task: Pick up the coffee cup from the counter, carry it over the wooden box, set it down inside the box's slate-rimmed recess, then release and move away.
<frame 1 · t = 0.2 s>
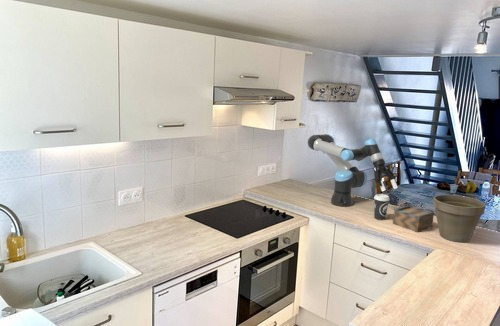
hand: (390, 189, 239), 16 cm above the countertop, tool tilted 35°, fingers open, 13 cm apart
wooden box: (412, 225, 218), on the countertop
plant pot: (453, 237, 202), on the countertop
coffee cup: (379, 218, 229), on the countertop
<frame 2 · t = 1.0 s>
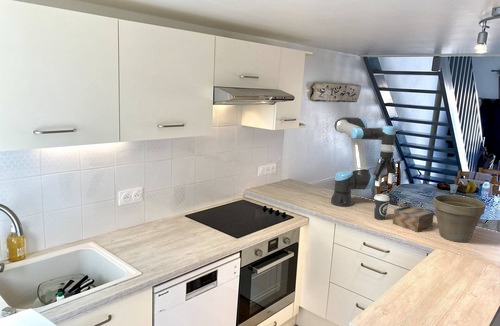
hand: (383, 184, 225), 22 cm above the countertop, tool pointing down, fingers open, 13 cm apart
nothing on the countertop moved.
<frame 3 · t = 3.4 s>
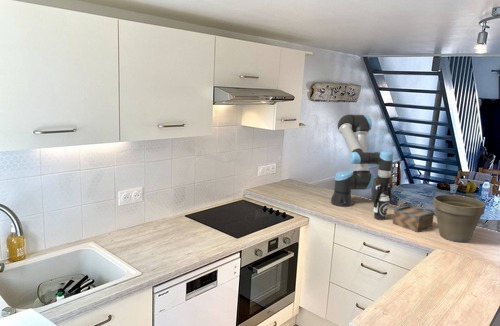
hand: (380, 210, 228), 5 cm above the countertop, tool pointing down, fingers closed on coffee cup, 9 cm apart
coffee cup: (379, 218, 229), on the countertop, touching gripper
everything else where it was.
when the fingers open (15 cm above the countertop, at t = 10.1 s): coffee cup drops 2 cm, resting on wooden box.
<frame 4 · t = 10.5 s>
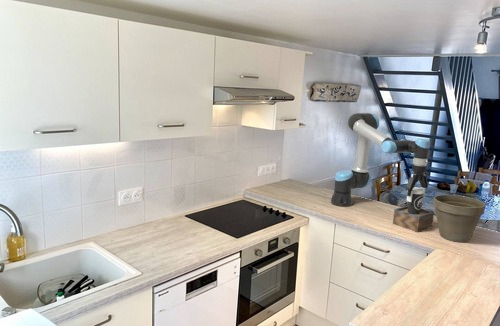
hand: (415, 199, 215), 16 cm above the countertop, tool pointing down, fingers open, 13 cm apart
coffee cup: (413, 212, 217), point 8 cm above the countertop, touching wooden box
everything else where it was.
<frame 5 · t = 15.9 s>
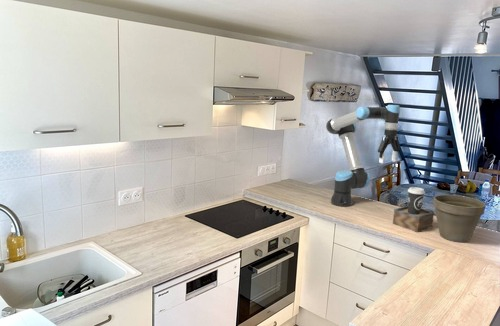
hand: (387, 162, 233), 35 cm above the countertop, tool pointing down, fingers open, 13 cm apart
nothing on the countertop moved.
at the end: coffee cup inside the target area on the wooden box (0.1 cm from its centre), point 7.8 cm above the wooden box's base; coffee cup tilted 0°; the gripper is holding nothing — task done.
